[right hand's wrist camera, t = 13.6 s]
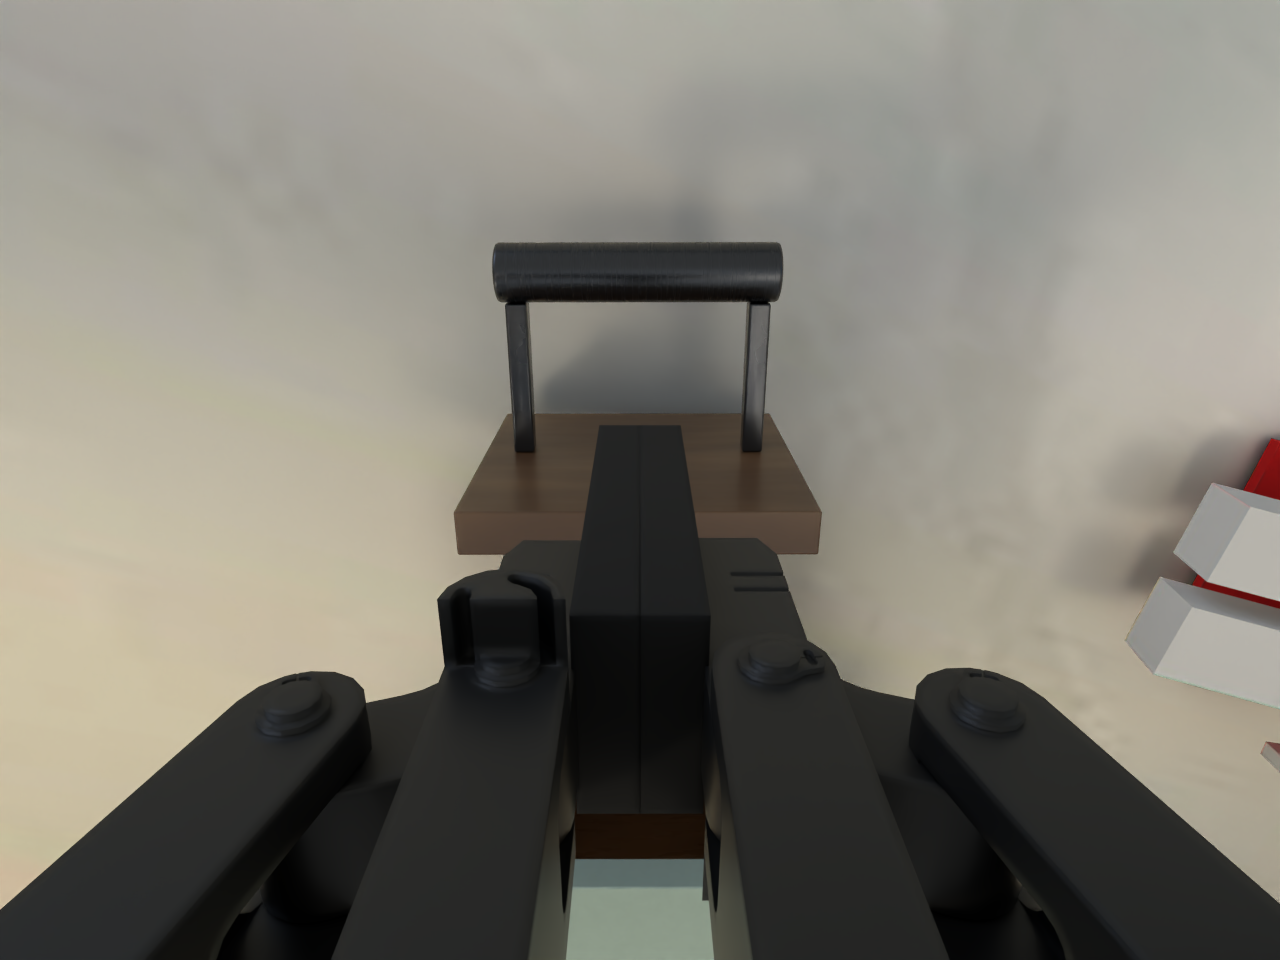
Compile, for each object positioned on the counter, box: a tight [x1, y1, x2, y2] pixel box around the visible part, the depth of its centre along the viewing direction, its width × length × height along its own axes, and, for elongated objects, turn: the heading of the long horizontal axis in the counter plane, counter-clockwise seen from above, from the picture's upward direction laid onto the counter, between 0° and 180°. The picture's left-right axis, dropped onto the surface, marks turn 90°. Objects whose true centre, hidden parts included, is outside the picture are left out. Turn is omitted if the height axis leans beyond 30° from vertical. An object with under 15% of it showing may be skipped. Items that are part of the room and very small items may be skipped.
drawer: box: [454, 242, 822, 859], centre depth 25 cm, size 22×9×8 cm, turn 0°
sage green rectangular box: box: [566, 859, 714, 960], centre depth 31 cm, size 18×10×10 cm, turn 0°
